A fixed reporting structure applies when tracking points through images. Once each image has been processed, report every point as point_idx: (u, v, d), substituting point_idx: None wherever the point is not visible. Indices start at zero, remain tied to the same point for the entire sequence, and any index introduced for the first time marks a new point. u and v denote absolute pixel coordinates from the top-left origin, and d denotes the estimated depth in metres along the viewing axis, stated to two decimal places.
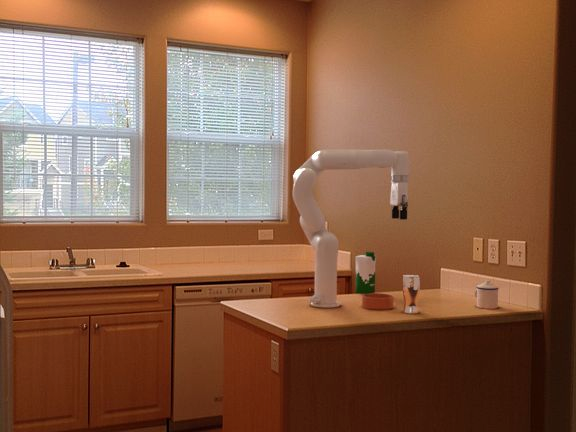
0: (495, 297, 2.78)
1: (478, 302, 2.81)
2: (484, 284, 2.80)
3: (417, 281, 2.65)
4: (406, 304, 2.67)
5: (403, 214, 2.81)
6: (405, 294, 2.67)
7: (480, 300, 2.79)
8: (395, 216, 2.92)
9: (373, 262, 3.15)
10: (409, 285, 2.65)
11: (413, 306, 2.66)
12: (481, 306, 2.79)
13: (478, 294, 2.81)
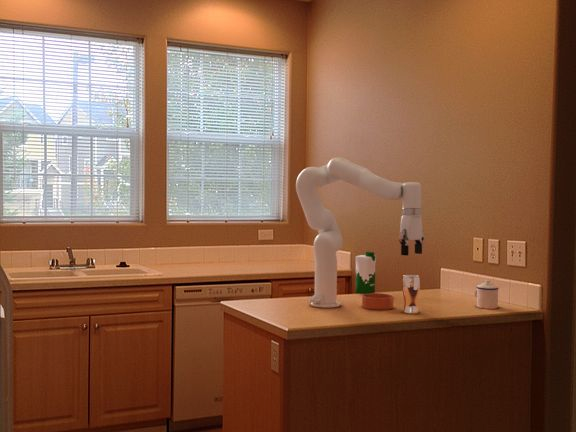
0: (495, 297, 2.78)
1: (478, 302, 2.81)
2: (484, 284, 2.80)
3: (417, 281, 2.65)
4: (406, 304, 2.67)
5: (402, 249, 2.65)
6: (405, 294, 2.67)
7: (480, 300, 2.79)
8: (417, 251, 2.72)
9: (373, 262, 3.15)
10: (409, 285, 2.65)
11: (413, 306, 2.66)
12: (481, 306, 2.79)
13: (478, 294, 2.81)
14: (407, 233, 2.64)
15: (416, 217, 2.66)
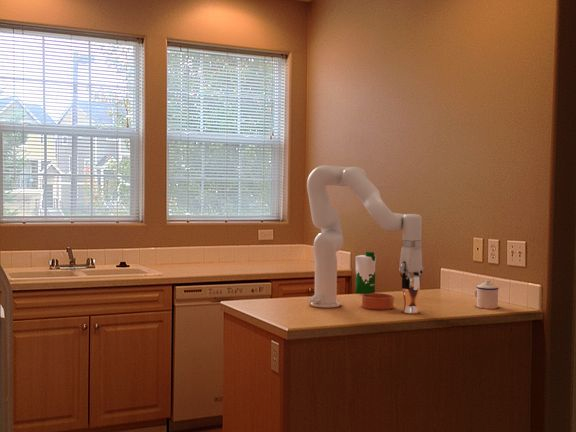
0: (495, 297, 2.78)
1: (478, 302, 2.81)
2: (484, 284, 2.80)
3: (417, 281, 2.65)
4: (406, 304, 2.67)
5: (403, 283, 2.65)
6: (405, 294, 2.67)
7: (480, 300, 2.79)
8: None
9: (373, 262, 3.15)
10: (409, 285, 2.65)
11: (413, 306, 2.66)
12: (481, 306, 2.79)
13: (478, 294, 2.81)
14: (407, 265, 2.63)
15: (416, 249, 2.65)
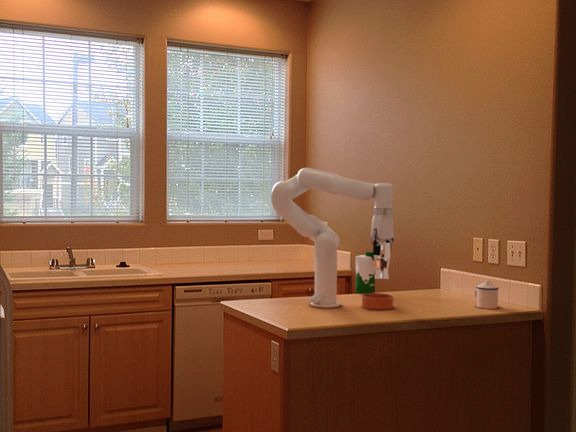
0: (495, 297, 2.78)
1: (478, 302, 2.81)
2: (484, 284, 2.80)
3: (388, 248, 2.74)
4: (377, 270, 2.76)
5: (374, 250, 2.74)
6: (376, 260, 2.75)
7: (480, 300, 2.79)
8: None
9: (373, 262, 3.15)
10: None
11: (384, 272, 2.75)
12: (481, 306, 2.79)
13: (478, 294, 2.81)
14: (378, 232, 2.72)
15: (387, 217, 2.74)
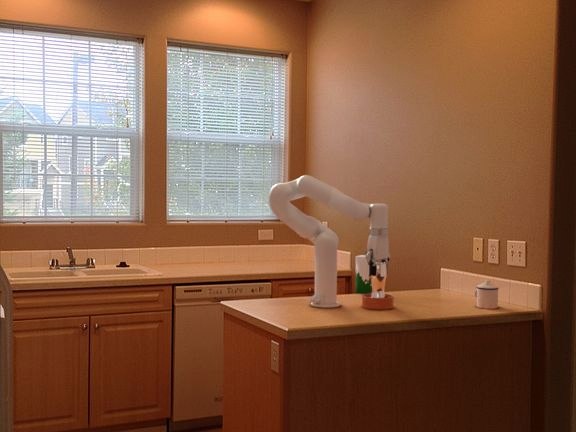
0: (495, 297, 2.78)
1: (478, 302, 2.81)
2: (484, 284, 2.80)
3: (384, 268, 2.76)
4: (373, 290, 2.77)
5: (370, 270, 2.75)
6: (372, 280, 2.77)
7: (480, 300, 2.79)
8: None
9: None
10: (376, 271, 2.76)
11: (380, 292, 2.76)
12: (481, 306, 2.79)
13: (478, 294, 2.81)
14: (373, 253, 2.74)
15: (383, 237, 2.76)
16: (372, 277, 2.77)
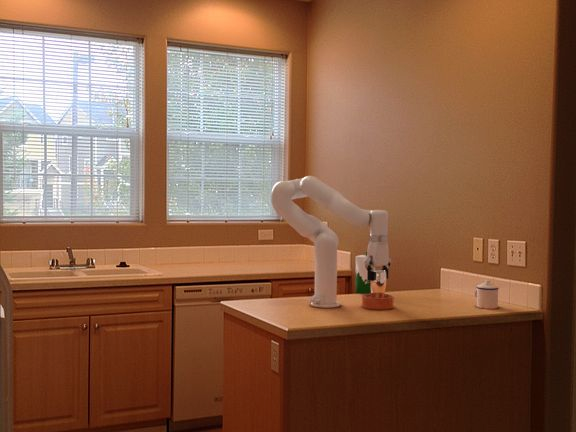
0: (495, 297, 2.78)
1: (478, 302, 2.81)
2: (484, 284, 2.80)
3: (383, 276, 2.76)
4: None
5: (368, 275, 2.75)
6: (372, 288, 2.77)
7: (480, 300, 2.79)
8: None
9: None
10: (375, 279, 2.76)
11: None
12: (481, 306, 2.79)
13: (478, 294, 2.81)
14: (373, 259, 2.74)
15: (382, 244, 2.76)
16: (372, 285, 2.77)
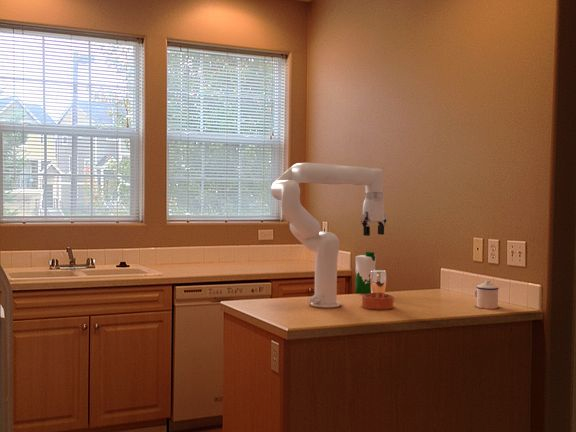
0: (495, 297, 2.78)
1: (478, 302, 2.81)
2: (484, 284, 2.80)
3: (383, 276, 2.76)
4: None
5: (364, 230, 2.88)
6: (372, 288, 2.77)
7: (480, 300, 2.79)
8: (380, 232, 2.95)
9: (373, 262, 3.15)
10: (375, 279, 2.76)
11: None
12: (481, 306, 2.79)
13: (478, 294, 2.81)
14: (368, 215, 2.87)
15: (377, 200, 2.89)
16: (372, 285, 2.77)
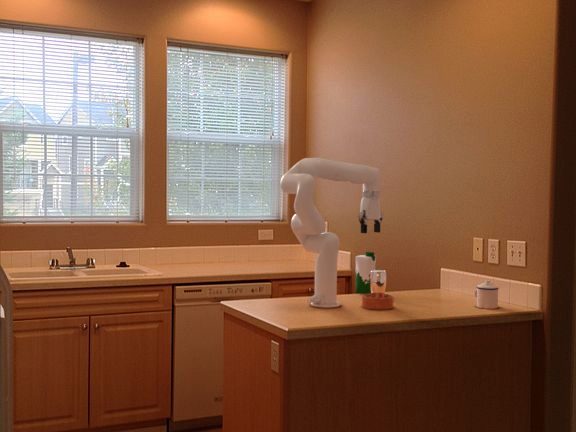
0: (495, 297, 2.78)
1: (478, 302, 2.81)
2: (484, 284, 2.80)
3: (383, 276, 2.76)
4: None
5: (361, 228, 2.96)
6: (372, 288, 2.77)
7: (480, 300, 2.79)
8: (376, 230, 3.03)
9: (373, 262, 3.15)
10: (375, 279, 2.76)
11: None
12: (481, 306, 2.79)
13: (478, 294, 2.81)
14: (366, 213, 2.95)
15: (374, 199, 2.97)
16: (372, 285, 2.77)
